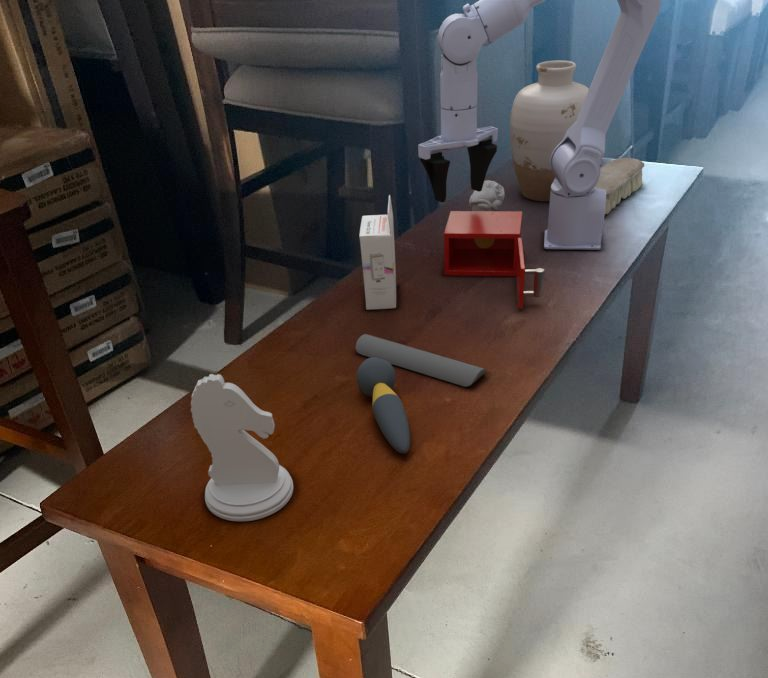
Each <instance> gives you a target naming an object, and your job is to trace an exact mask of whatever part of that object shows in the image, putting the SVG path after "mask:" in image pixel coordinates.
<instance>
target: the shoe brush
mask: <svg viewBox="0 0 768 678" xmlns="http://www.w3.org/2000/svg"><path fill="white" fill-rule="evenodd" d="M644 167H645V162H644V161H642V160H640V159H637V158H633V157H619V158H615V159H614V160H612V161H609V162H607V163H606V164H605V165H603V166H600V169H601V173H600V178H599V180H598V182H597V184H596V185H595V188H598V189H605V190H606V206H605V215H609V213H611V211H612V210H613V209H615V208H616V206H617V205H619V204H620V203H621V199H623V200H625V199H627V198H628V197H630V196H631V194H632V193H634V192H636V191H638V190H639V189H640V188H642V186H643V168H644Z"/></svg>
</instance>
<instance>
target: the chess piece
mask: <svg viewBox="0 0 768 678" xmlns="http://www.w3.org/2000/svg"><path fill="white" fill-rule="evenodd" d="M190 399H191V400H190V407H191V408H190V412H191V418H192V423H193V424H194V425H193V428H194V429H196V430H197V434H199V435H200V438H201V439H202V441H203V443H204V444H205V445H206V447H207V449H208V451H209V452H210V454H211V456H210V457H211V458H212V459H211V462H212V463H211V464H210V465H209V468H208V471H207V475H208V477H210V479H209V481H208V482H207V484H206V486H205V490H204V501H205V505H206V507H207V509H208V510H209V511H210V512H211V514H213V515H215V516H216V517H217V518H220V519H222V520H226V521H230V522H251V521H256V520H262V519H264V518H266V517H269V516H271V515H273V514H275V513H277V512H278V511H280V510H281V509H282V508H284V507H285V506H286V505H287V504H288V502H289V501H290V500H291V498H292V496H293V493H294V482H293V479H292V476H291V474H290V473H289V471H288V470H287V469H286V468H285V467H284V466H282V465H281V464H280V463H279V460H278V458H277V457H276V455H275V454H274V453H273V452H272V451H271V450H270V449H268V448H267V447H266V446H265V445H264V444H262V443H261V442H260V441H258V440H257V438H254V437H253V436H252V435H251V434H249V432H247V431H250V432H251V431H252V432H254V433H255V434H256V435H257V436H259V437H260V438H261V439H268V438H269V436H270V435H273V434H274V432H275V427H276V425H275V420H274V418H273V413H272V412H270V411H265V410H262V409H261V408H259V407H258V406H257V405H256V404H255V403H253V402H252V400H251V399H250V397H248V395H247V394H246V393H245V391H244V390H242V389H241V388H240V387H239V386H238V385H236V384H234V383H233V382H225V378H224V377H223V376H222V375H221V374H220V373H217V374H214V373H209V375H208V376H204V377H203V378H201V379H198V380H197V382H196V385H195V386H194V389H193V391H192V394H191V396H190Z"/></svg>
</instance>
